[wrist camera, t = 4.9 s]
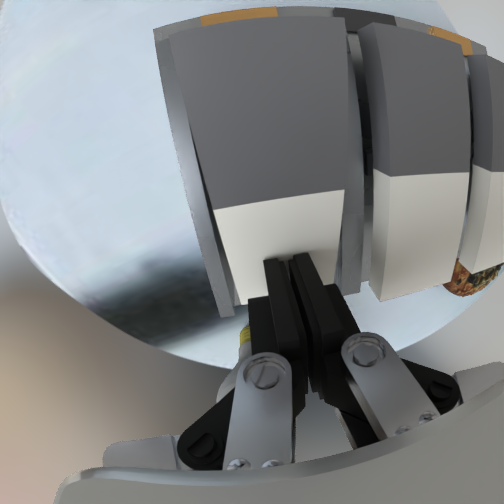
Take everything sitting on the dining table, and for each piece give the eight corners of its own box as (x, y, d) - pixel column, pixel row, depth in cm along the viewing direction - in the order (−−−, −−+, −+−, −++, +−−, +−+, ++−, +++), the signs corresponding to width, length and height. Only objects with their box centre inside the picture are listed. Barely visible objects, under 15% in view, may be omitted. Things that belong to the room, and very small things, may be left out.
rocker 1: (177, 34, 5) (167, 34, 4) (324, 18, 5) (344, 17, 4) (239, 279, 12) (241, 304, 11) (323, 265, 12) (332, 288, 11)
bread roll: (422, 224, 18) (467, 252, 14) (488, 165, 17) (527, 180, 13) (434, 305, 24) (463, 334, 19) (491, 248, 23) (520, 268, 18)
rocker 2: (355, 31, 6) (373, 22, 5) (439, 47, 6) (461, 44, 5) (367, 282, 11) (379, 302, 10) (435, 265, 11) (450, 281, 10)
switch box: (176, 51, 12) (132, 10, 5) (438, 50, 12) (515, 47, 5) (221, 260, 19) (216, 343, 12) (441, 222, 18) (501, 271, 12)
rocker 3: (464, 54, 6) (485, 54, 5) (508, 73, 6) (526, 75, 5) (456, 259, 11) (471, 274, 10) (497, 247, 11) (511, 259, 10)
